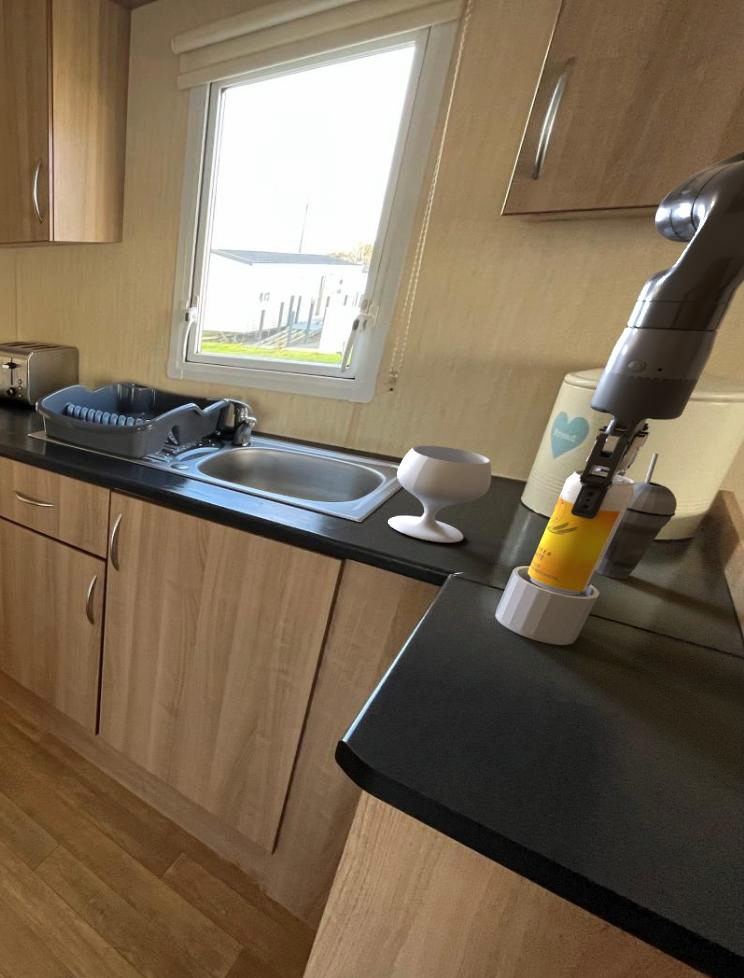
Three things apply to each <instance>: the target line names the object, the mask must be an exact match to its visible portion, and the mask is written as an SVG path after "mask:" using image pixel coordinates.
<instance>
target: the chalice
mask: <svg viewBox="0 0 744 978" xmlns="http://www.w3.org/2000/svg"><path fill="white" fill-rule="evenodd" d="M396 476H397V480H398V483H399V484H400V486H401V487H402V488H403V489H405V490H406V491H407V492H408V493H410V494H411V495H412V496H414V497H415V498H416V499H417V500H419V501H420V503H421V504H422V506H423V508H424V509H423V510H424V512H423V514H422V516H415V515H396V516H394V517H391V518H389V519H388V520H387V523H388V525H389V526H390V527H391V528H393V529H394V530H396V531H397V532H400V533H402V534H405V535H407V536H410V537H413V538H417V539H420V540H425V541H430V542H437V543H457V542H460V541H462V540H463V539H464V534H463V533H462V532H461V531H460V530H459V529H457V528H456V527H454V526H452V525H449V524H448V523H444V522H441V521H438V520H436V515H437V513H438V512H439V511H441V510H442V509H444V508H446V507H449V506H453V505H459V504H464V503H469V502H473V501H476V500H478V499H480V498H481V497H484V495H485V494H486V493H487V492H488V491H489V489H490V486H491V481H492V465H491V461H490V459H489V458H488V457H486V456H485V455H481V454H479V453H476V452H472V451H468V450H464V449H458V448H453V447H446V446H437V445H420V446H419V445H417V446H414V447H412V448H411V449H410V450H409V451H408V452H407V453H406V454H405V456H404V457H403V458H402V460H401V463H400V464H399V467H398V468H397V472H396Z"/></svg>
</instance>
